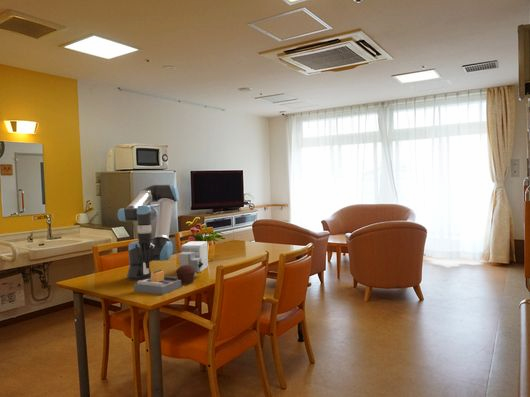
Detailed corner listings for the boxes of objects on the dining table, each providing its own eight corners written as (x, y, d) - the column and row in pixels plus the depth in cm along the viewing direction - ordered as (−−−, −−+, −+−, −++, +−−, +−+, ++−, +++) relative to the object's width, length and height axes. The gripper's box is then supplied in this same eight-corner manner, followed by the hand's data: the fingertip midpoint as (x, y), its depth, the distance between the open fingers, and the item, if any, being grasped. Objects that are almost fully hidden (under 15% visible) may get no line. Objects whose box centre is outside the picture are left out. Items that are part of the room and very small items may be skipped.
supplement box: (190, 266, 284) (189, 241, 283) (208, 266, 282) (207, 241, 281) (181, 272, 267) (180, 245, 266) (200, 272, 265) (199, 245, 264)
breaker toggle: (151, 281, 224) (150, 271, 224) (158, 279, 230) (158, 269, 229) (157, 282, 223) (156, 272, 222) (164, 279, 228) (163, 270, 228)
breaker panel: (134, 291, 223) (133, 281, 223) (153, 284, 238) (153, 274, 238) (162, 294, 215) (162, 284, 215) (181, 286, 229) (180, 277, 229)
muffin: (180, 285, 232) (180, 268, 232) (172, 282, 241) (172, 265, 241) (199, 282, 239) (198, 265, 239) (191, 278, 248) (190, 262, 248)
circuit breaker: (200, 278, 249) (199, 254, 248) (178, 277, 252) (178, 254, 251) (204, 275, 256) (203, 252, 255) (183, 274, 259) (182, 251, 258)
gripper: (131, 233, 228) (132, 274, 228) (149, 233, 222) (150, 276, 223) (140, 231, 234) (141, 271, 235) (158, 232, 229) (159, 273, 230)
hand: (146, 273), depth 229 cm, fingers closed
